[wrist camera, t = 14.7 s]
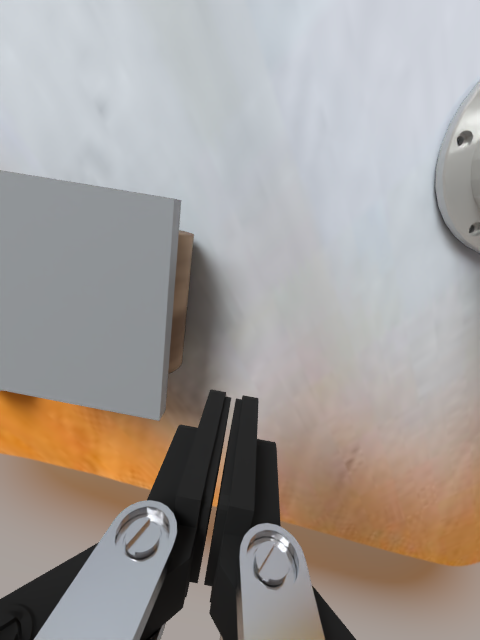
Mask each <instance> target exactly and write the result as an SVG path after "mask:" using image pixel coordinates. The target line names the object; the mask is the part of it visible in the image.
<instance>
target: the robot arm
mask: <svg viewBox="0 0 480 640" xmlns="http://www.w3.org/2000/svg"><path fill="white" fill-rule="evenodd" d="M457 139H458V140H459V145H458V144H457ZM435 189H436V195H437V201H438V207H439V209H440V212H441V214H442V217H443V219H444V222H445V223H446V225H447V226H448V228H449V229H450V230H451V232H452V233H453V235H454V236H455V237H456V238H458V239H459V240H460V241H461V242H462V243H463V244H464V245H466V246H467V247H469V248H471V249H473V250H475V251H476V252H478V253H480V81H479V82H478V83H477V84H476V86H475V87H474V88H473V89H472V91H471V92H470V93H469V94H468V96H467V97H466V98H465V100H464V101H463V102H462V104H461V105H460V107H459V109H458V111H457V112H456V114H455V116H454V117H453V119H452V121H451V123H450V124H449V127H448V129H447V132H446V134H445V137H444V139H443V142H442V145H441V148H440V152H439V157H438V161H437V166H436V184H435ZM470 227H471V228H470ZM469 228H470V231H469ZM225 396H226V392H221V391H216V390H210V393H209V396H208V399H207V402H206V405H205V408H204V411H203V414H202V417H201V420H200V423H199V426H198V428H195V427H190V426H185V425H179V426H178V428H177V431H176V433H175V435H174V438H173V440H172V442H171V445H170V447H169V450H168V452H167V454H166V457H165V459H164V461H163V464H162V466H161V468H160V471H159V473H158V475H157V478H156V480H155V483H154V485H153V487H152V490H151V492H150V494H149V497H148V499H147V501H140V502H138V503H135V504H132V505H130V506H129V507H127V508H126V509H125V510H123V511H122V512H121V513H120V514H119V515H118V516H117V517H116V519H115V520H114V521H113V522H112V524H111V525H110V527H109V528H108V530H107V531H106V533H105V535H104V536H103V538H102V539H101V540H100V542H99V543H97V544H95V545H94V546H92V547H90V548H88V549H87V550H85V551H83V552H81V553H80V554H78V555H76V556H74V557H73V558H71V559H69V560H67V561H66V562H64V563H62V564H61V565H59V566H57V567H55V568H54V569H52V570H50V571H48V572H47V573H45V574H43V575H41V576H40V577H38V578H36V579H34V580H33V581H31V582H29V583H28V584H26V585H24V586H22V587H21V588H19V589H17V590H15V591H14V592H12V593H10V594H9V595H7V596H5V597H3V598H1V599H0V640H160V639H161V636H162V634H163V631H164V628H165V624H166V622H167V621H168V620H169V619H170V618H172V617H173V616H174V615H175V614H176V613H177V612H178V611H180V610H181V609H182V608H183V604H184V600H185V597H186V596H187V592H188V587H189V582H194V583H198V577H199V572H200V567H201V562H202V557H203V551H204V546H205V541H206V535H207V530H208V524H209V519H210V514H211V508H212V503H213V498H214V492H215V487H216V482H217V476H218V471H219V465H220V460H221V454H222V448H223V442H224V437H225V431H226V425H227V419H228V413H229V408H230V402H231V398H230V397H225ZM257 423H258V398H254V397H249V396H243V397H242V400H241V399H236V402H235V408H234V413H233V419H232V424H231V430H230V435H229V441H228V447H227V452H226V458H225V463H224V469H223V475H222V481H221V487H220V493H219V499H218V505H217V511H216V517H215V523H214V529H213V535H212V541H211V547H210V553H209V559H208V565H207V571H206V577H205V583H204V585H208V586H212V591H211V598H210V602H211V606H210V615H211V617H212V619H213V621H214V623H215V625H216V627H217V628H218V630H219V632H220V640H356V639H355V638H354V636H353V635H352V634H351V633H350V631H349V630H348V629H347V628H346V626H345V625H344V624H343V623H342V622H341V620H340V619H339V618H338V617H337V615H336V614H335V613H334V612H333V610H332V609H331V608H330V607H329V605H328V604H327V603H326V602H325V601H324V599H323V598H322V597H321V596H320V594H319V593H318V592H317V591H316V589H315V588H314V587H313V586H312V585H311V580H310V576H309V572H308V568H307V564H306V560H305V557H304V554H303V551H302V549H301V547H300V545H299V544H298V542H297V541H296V539H295V538H294V537H293V536H292V535H291V534H290V533H289V532H288V531H287V530H286V529H284V528H282V527H280V509H279V489H278V470H277V450H276V443H275V442H270V441H265V440H259V439H257Z"/></svg>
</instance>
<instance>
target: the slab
mask: <svg viewBox="0 0 480 640" xmlns="http://www.w3.org/2000/svg"><path fill="white" fill-rule="evenodd" d="M180 209H181V200H177V199H172V198H166V197H160V196H154V195H148V194H142V193H136V192H129V191H123V190H117V189H111V188H105V187H99V186H93V185H87V184H81V183H75V182H68V181H62V180H56V179H50V178H44V177H38V176H32V175H26V174H20V173H14V172H7V171H1V170H0V390H3V391H8V392H13V393H19V394H24V395H29V396H34V397H39V398H44V399H50V400H55V401H60V402H65V403H70V404H75V405H81V406H86V407H91V408H96V409H101V410H106V411H112V412H117V413H122V414H127V415H132V416H137V417H143V418H148V419H153V420H158V421H160V419H161V417H162V415H163V413H164V411H165V410H166V396H167V383H168V370H169V356H170V343H171V329H172V316H173V303H174V289H175V276H176V263H177V249H178V236H179V222H180Z"/></svg>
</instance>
